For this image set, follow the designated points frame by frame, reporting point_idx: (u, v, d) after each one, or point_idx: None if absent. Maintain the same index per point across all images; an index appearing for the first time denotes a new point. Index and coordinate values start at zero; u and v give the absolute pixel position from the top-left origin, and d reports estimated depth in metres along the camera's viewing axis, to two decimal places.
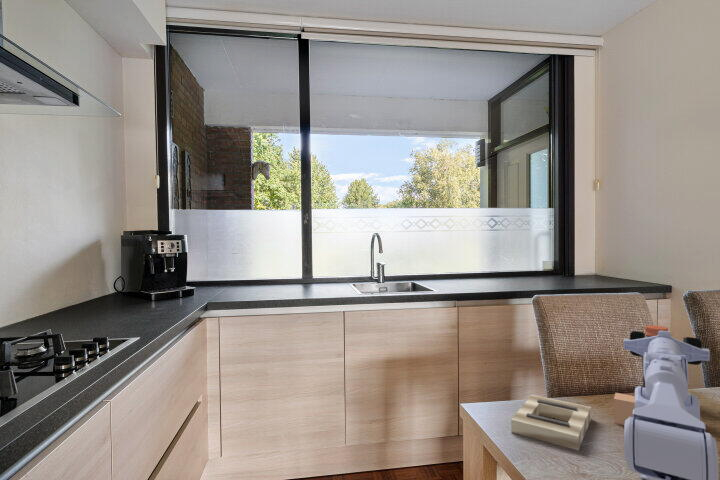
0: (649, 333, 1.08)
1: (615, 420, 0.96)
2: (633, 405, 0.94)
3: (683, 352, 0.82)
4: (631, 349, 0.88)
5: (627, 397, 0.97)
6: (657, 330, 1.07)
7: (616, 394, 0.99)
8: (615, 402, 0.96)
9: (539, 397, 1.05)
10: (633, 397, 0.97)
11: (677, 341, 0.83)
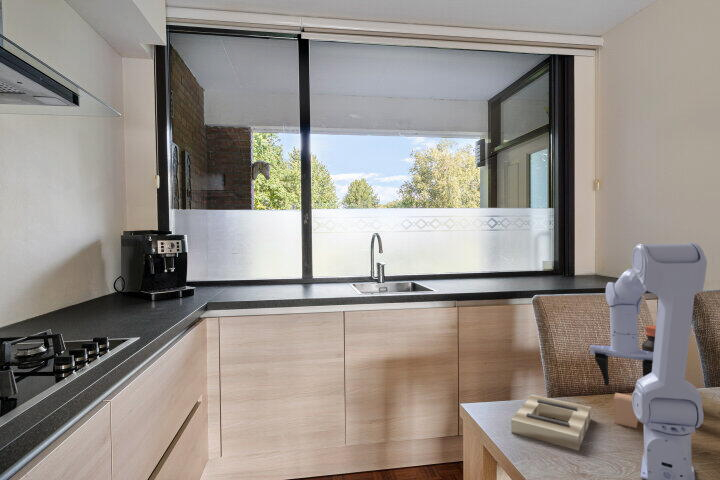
0: (649, 333, 1.08)
1: (615, 420, 0.96)
2: None
3: (640, 352, 0.95)
4: None
5: (627, 397, 0.97)
6: None
7: (616, 394, 0.99)
8: (615, 402, 0.96)
9: (539, 397, 1.05)
10: None
11: None
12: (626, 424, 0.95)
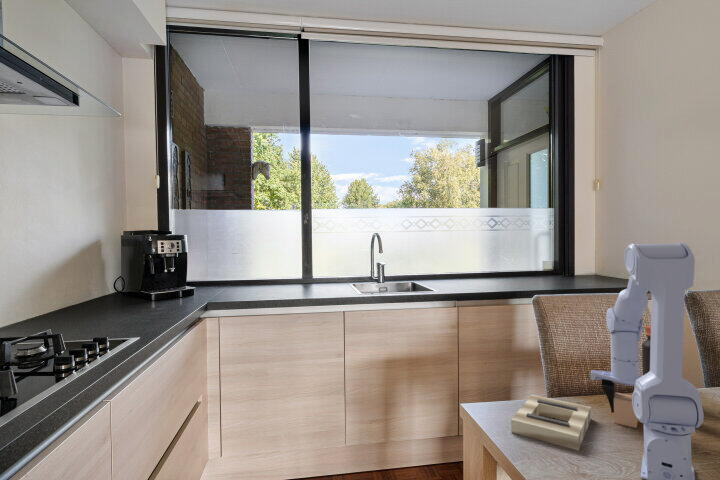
0: (649, 333, 1.08)
1: (615, 420, 0.96)
2: None
3: None
4: None
5: (627, 397, 0.97)
6: None
7: (616, 394, 0.99)
8: (615, 402, 0.96)
9: (539, 397, 1.05)
10: None
11: None
12: (626, 424, 0.95)
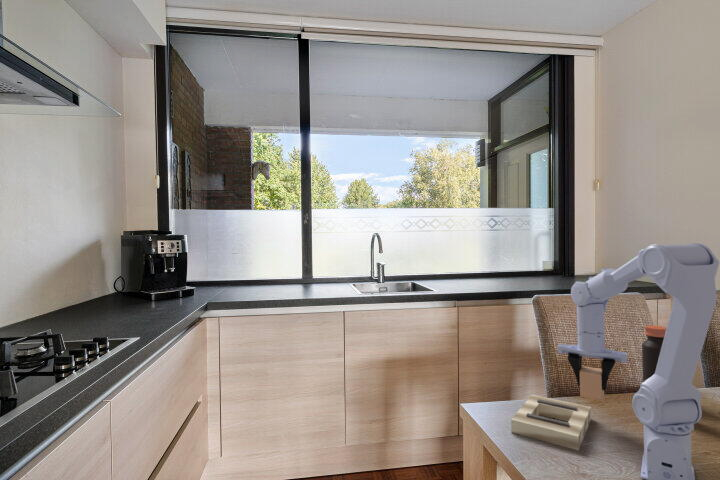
0: (649, 333, 1.08)
1: (581, 393, 0.96)
2: (598, 377, 0.94)
3: None
4: None
5: (593, 370, 0.97)
6: (657, 330, 1.07)
7: (583, 367, 0.99)
8: (581, 374, 0.96)
9: (539, 397, 1.05)
10: (599, 370, 0.96)
11: None
12: (591, 396, 0.95)
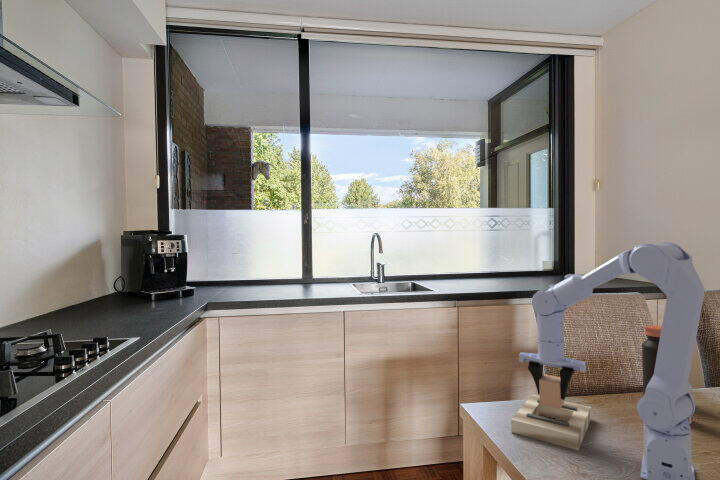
0: (649, 333, 1.08)
1: (540, 401, 0.95)
2: (557, 386, 0.93)
3: (565, 360, 0.94)
4: None
5: (553, 378, 0.96)
6: (657, 330, 1.07)
7: (543, 376, 0.98)
8: (540, 383, 0.95)
9: (539, 397, 1.05)
10: (559, 378, 0.96)
11: None
12: (550, 405, 0.94)
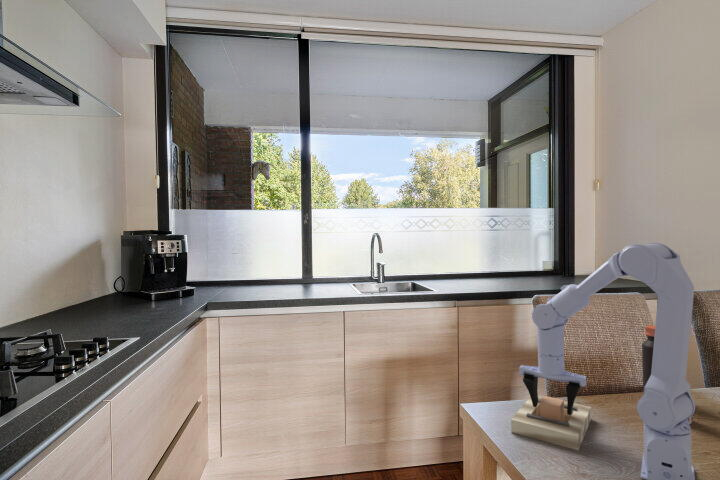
0: (649, 333, 1.08)
1: None
2: (557, 408, 0.93)
3: (565, 374, 0.94)
4: None
5: (553, 400, 0.96)
6: None
7: (544, 397, 0.98)
8: (541, 405, 0.95)
9: (539, 397, 1.05)
10: (559, 400, 0.96)
11: None
12: None
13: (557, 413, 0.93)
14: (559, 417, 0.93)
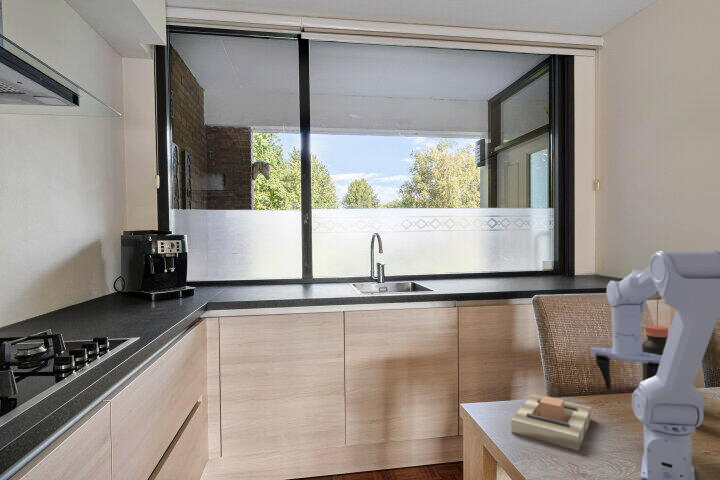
0: (649, 333, 1.08)
1: None
2: (557, 408, 0.93)
3: (644, 354, 0.90)
4: None
5: (553, 400, 0.96)
6: (657, 330, 1.07)
7: (544, 397, 0.98)
8: (541, 405, 0.95)
9: (539, 397, 1.05)
10: (559, 400, 0.96)
11: None
12: None
13: (557, 413, 0.93)
14: (559, 417, 0.93)
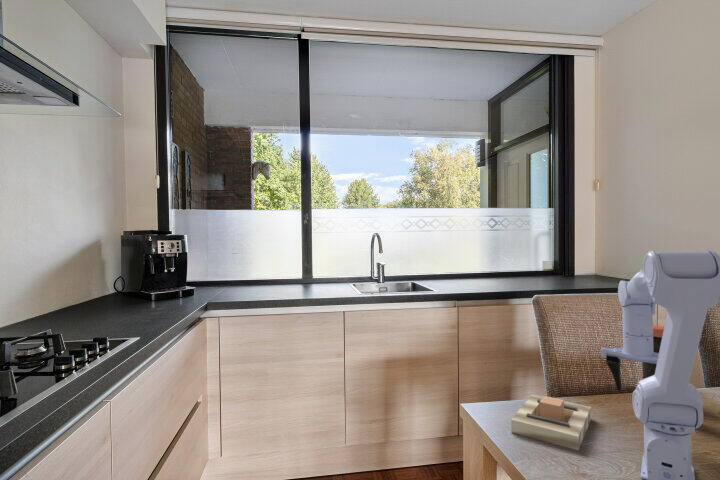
0: None
1: None
2: (557, 408, 0.93)
3: (655, 355, 0.89)
4: None
5: (553, 400, 0.96)
6: (657, 330, 1.07)
7: (544, 397, 0.98)
8: (541, 405, 0.95)
9: (539, 397, 1.05)
10: (559, 400, 0.96)
11: None
12: None
13: (557, 413, 0.93)
14: (559, 417, 0.93)
